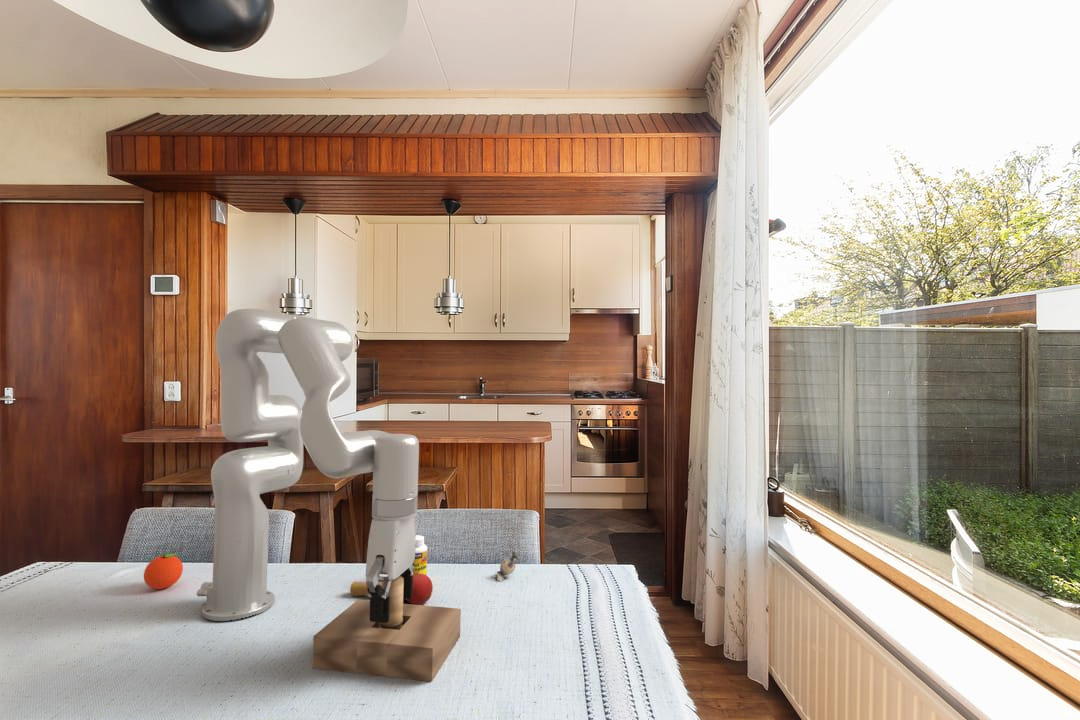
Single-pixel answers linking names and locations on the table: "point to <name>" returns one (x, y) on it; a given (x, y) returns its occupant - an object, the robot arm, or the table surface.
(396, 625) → the oak peg
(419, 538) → the supplement bottle
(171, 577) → the clementine
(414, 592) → the kendama
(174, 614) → the table surface
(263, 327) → the robot arm
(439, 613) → the seat board
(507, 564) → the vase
